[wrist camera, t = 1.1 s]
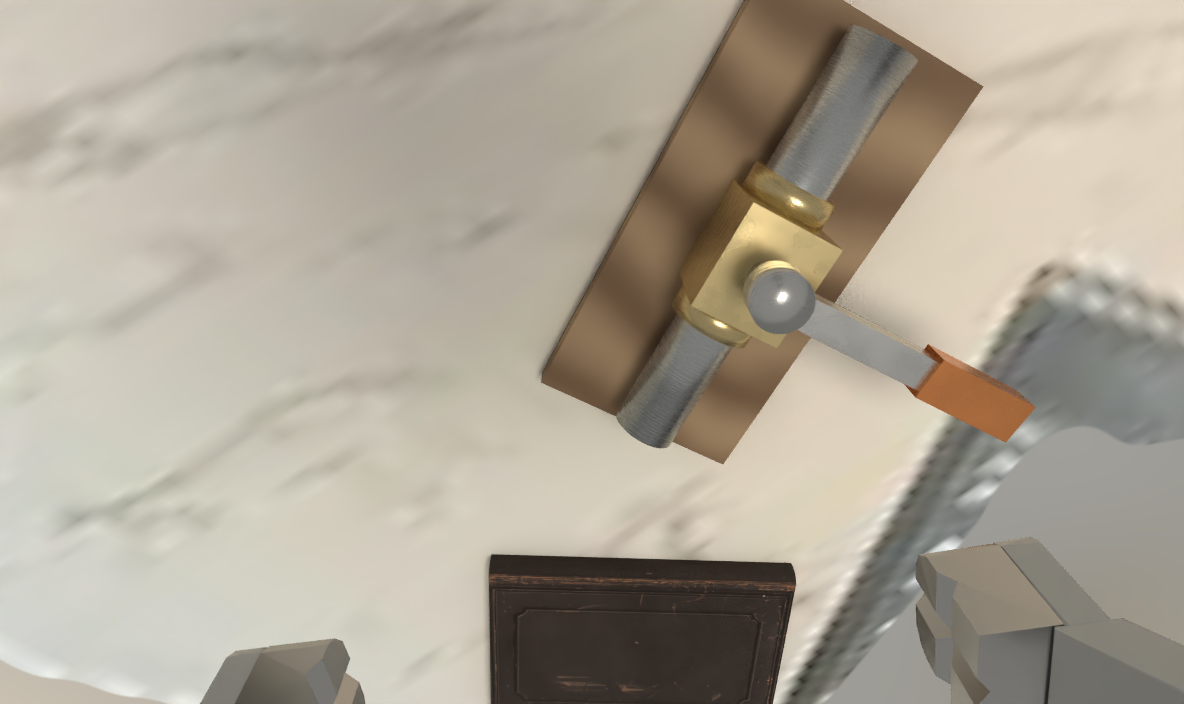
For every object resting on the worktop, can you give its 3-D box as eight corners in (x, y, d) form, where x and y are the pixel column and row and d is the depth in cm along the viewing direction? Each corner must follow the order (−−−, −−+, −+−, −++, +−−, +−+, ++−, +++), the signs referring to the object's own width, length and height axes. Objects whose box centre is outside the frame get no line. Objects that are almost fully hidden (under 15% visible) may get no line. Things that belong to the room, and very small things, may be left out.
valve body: (825, 16, 42) (877, 18, 34) (907, 65, 43) (975, 78, 35) (604, 392, 51) (608, 457, 44) (676, 425, 52) (692, 494, 45)
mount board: (766, -41, 41) (773, -43, 40) (971, 83, 44) (983, 86, 43) (542, 372, 52) (541, 382, 50) (719, 452, 54) (722, 464, 53)
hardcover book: (762, 706, 66) (767, 729, 64) (494, 699, 65) (491, 723, 63) (790, 557, 59) (797, 578, 57) (492, 549, 58) (488, 569, 56)
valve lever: (730, 303, 40) (738, 317, 38) (764, 250, 38) (773, 262, 37) (983, 429, 43) (1000, 448, 41) (1020, 384, 42) (1040, 401, 40)
